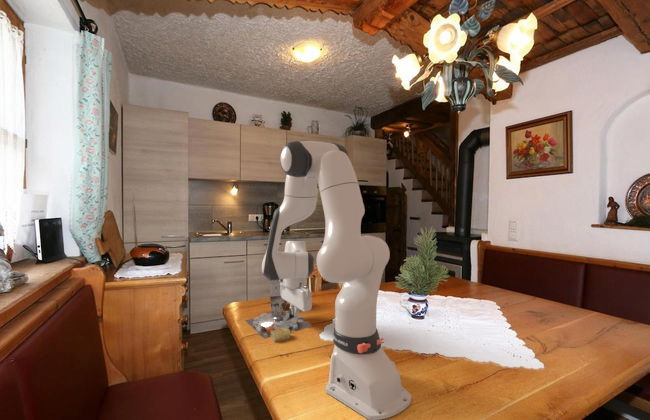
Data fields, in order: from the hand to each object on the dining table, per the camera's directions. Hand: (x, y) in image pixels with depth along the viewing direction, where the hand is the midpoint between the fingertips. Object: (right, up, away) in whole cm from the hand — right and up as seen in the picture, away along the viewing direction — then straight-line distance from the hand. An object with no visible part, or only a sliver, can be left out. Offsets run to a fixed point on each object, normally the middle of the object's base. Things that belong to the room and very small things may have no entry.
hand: (295, 315), depth 118 cm
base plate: (-7, -4, +1) cm, 8 cm away
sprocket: (-7, -3, +1) cm, 8 cm away
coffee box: (-9, -4, +20) cm, 22 cm away
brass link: (-4, -5, -13) cm, 14 cm away
